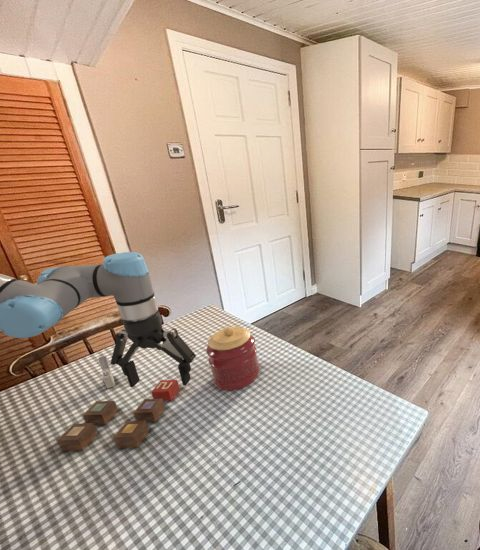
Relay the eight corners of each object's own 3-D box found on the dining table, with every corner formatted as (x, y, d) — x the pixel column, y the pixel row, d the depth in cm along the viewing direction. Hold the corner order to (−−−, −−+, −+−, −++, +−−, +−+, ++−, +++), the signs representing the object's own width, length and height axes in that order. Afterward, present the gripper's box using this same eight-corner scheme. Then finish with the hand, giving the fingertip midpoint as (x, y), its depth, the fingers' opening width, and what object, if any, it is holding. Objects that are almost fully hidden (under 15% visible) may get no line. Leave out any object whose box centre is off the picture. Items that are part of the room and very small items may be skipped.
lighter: (115, 387, 88) (106, 365, 85) (107, 390, 87) (98, 367, 84) (113, 375, 93) (105, 353, 90) (106, 377, 92) (97, 355, 89)
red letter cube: (155, 403, 82) (150, 391, 81) (164, 391, 87) (160, 380, 85) (172, 402, 83) (168, 390, 81) (180, 390, 87) (177, 379, 85)
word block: (63, 453, 69) (56, 440, 67) (79, 436, 73) (73, 423, 71) (84, 452, 69) (77, 439, 67) (99, 435, 73) (93, 422, 72)
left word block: (87, 427, 75) (81, 415, 74) (101, 413, 79) (96, 401, 78) (106, 426, 75) (101, 414, 74) (119, 412, 80) (114, 400, 78)
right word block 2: (137, 424, 76) (133, 412, 74) (148, 410, 80) (144, 398, 78) (156, 424, 76) (151, 411, 75) (166, 409, 80) (162, 398, 79)
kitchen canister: (222, 400, 83) (209, 346, 77) (208, 375, 92) (196, 326, 86) (267, 378, 91) (259, 328, 85) (250, 358, 100) (242, 311, 94)
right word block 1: (118, 450, 69) (112, 437, 68) (131, 433, 74) (126, 420, 72) (138, 449, 70) (133, 436, 68) (150, 432, 74) (145, 420, 72)
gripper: (199, 306, 79) (213, 372, 87) (99, 308, 77) (122, 374, 85) (185, 321, 72) (202, 391, 80) (74, 323, 70) (103, 394, 78)
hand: (161, 382), depth 83 cm, fingers open, 13 cm apart
